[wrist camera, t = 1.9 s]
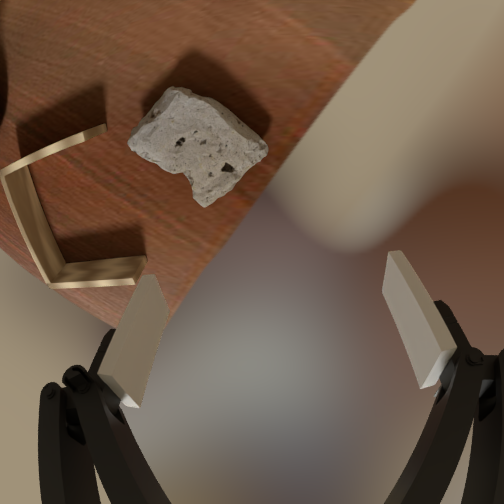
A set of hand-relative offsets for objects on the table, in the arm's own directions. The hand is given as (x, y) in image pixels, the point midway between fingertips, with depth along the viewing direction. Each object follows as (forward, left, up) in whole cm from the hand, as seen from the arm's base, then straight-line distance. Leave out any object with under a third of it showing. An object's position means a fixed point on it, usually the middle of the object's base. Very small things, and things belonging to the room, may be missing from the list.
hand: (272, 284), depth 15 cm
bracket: (-25, 0, -19) cm, 31 cm away
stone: (-10, +1, -16) cm, 19 cm away
